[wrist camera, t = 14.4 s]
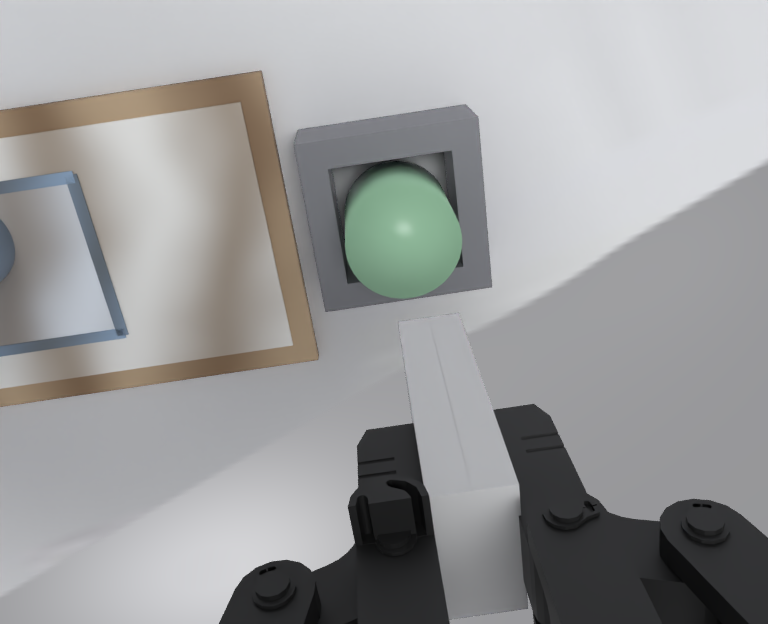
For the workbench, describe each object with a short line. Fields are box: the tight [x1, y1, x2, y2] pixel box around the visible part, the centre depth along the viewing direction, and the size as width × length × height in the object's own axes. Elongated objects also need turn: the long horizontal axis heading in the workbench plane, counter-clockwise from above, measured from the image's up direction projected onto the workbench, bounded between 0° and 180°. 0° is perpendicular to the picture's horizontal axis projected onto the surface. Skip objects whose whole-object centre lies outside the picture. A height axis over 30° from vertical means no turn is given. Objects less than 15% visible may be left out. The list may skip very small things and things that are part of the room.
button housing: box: [294, 104, 492, 312], centre depth 30 cm, size 7×7×3 cm
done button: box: [345, 161, 462, 299], centre depth 28 cm, size 4×4×4 cm
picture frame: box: [0, 71, 319, 407], centre depth 31 cm, size 20×13×1 cm, turn 98°
